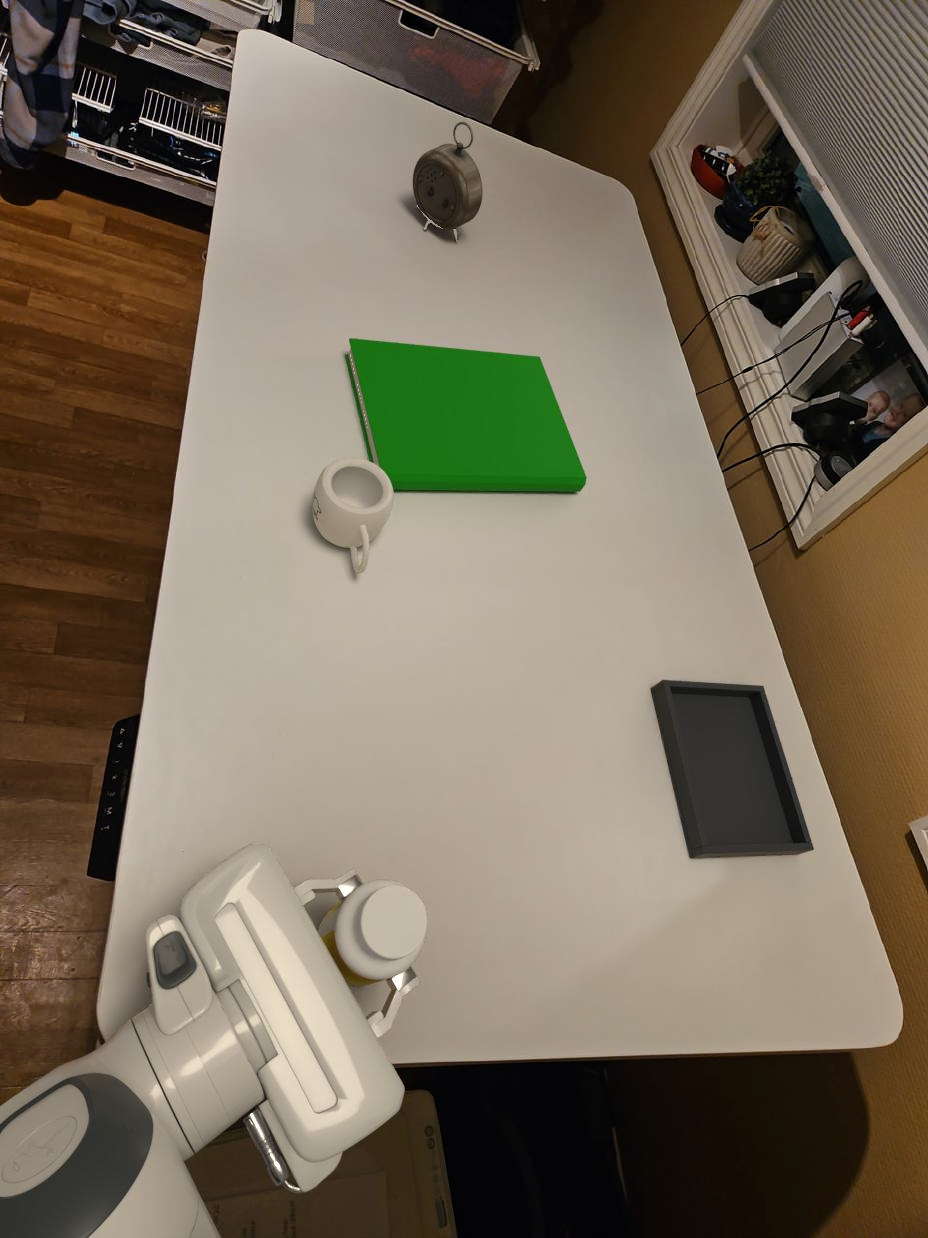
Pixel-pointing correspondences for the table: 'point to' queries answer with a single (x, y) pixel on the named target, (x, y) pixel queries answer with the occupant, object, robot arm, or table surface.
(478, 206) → the alarm clock
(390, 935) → the supplement bottle
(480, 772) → the table surface
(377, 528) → the mug
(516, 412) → the book
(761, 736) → the tray
